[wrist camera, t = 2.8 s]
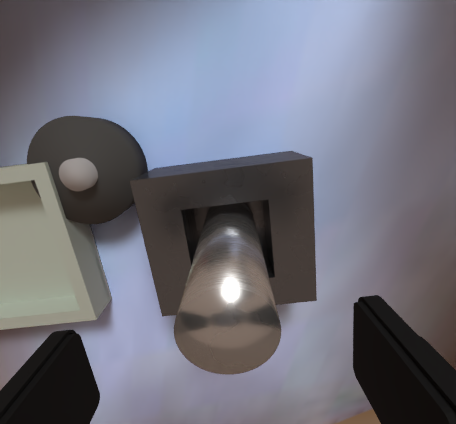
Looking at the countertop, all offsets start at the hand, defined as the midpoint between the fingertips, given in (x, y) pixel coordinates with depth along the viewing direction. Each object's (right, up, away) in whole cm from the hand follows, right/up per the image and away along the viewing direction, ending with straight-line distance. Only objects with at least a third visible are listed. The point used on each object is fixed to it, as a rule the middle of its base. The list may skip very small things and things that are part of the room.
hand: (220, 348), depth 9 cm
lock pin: (0, +4, +10) cm, 11 cm away
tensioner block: (0, +4, +11) cm, 12 cm away
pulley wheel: (-9, +8, +10) cm, 16 cm away
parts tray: (-16, +2, +12) cm, 21 cm away
